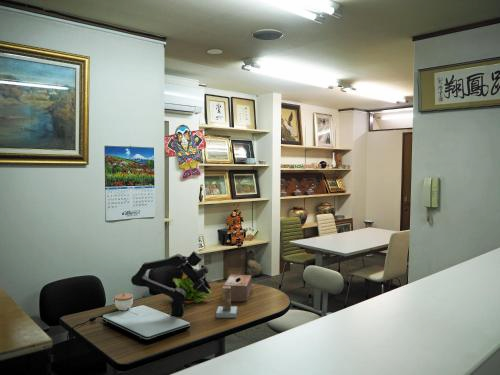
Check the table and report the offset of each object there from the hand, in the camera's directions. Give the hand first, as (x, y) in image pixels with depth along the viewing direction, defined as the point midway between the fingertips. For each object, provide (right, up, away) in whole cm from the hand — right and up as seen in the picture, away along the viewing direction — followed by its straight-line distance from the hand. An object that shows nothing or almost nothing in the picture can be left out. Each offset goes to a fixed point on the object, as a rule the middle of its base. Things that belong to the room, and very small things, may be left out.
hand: (209, 290), depth 230 cm
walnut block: (+10, -11, +1) cm, 15 cm away
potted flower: (-16, -13, +25) cm, 33 cm away
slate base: (+10, -13, +1) cm, 17 cm away
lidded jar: (-52, -14, +11) cm, 55 cm away
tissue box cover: (+15, -12, +37) cm, 42 cm away
